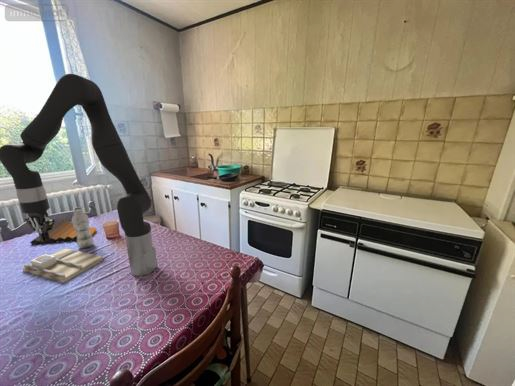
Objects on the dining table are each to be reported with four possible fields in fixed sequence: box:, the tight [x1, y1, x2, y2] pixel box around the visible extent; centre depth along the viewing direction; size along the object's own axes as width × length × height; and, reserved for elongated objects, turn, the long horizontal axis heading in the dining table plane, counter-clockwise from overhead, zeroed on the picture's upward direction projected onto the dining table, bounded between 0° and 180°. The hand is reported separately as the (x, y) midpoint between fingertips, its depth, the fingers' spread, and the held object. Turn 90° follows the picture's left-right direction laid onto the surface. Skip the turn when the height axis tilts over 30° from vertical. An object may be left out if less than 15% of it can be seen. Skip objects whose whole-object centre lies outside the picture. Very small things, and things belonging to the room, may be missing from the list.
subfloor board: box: [21, 248, 104, 284], centre depth 94 cm, size 23×16×3 cm
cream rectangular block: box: [30, 253, 57, 269], centre depth 91 cm, size 6×5×3 cm
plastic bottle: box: [71, 207, 95, 249], centre depth 106 cm, size 6×7×20 cm
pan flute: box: [29, 219, 97, 245], centre depth 123 cm, size 25×3×25 cm
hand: (45, 240), depth 86 cm, fingers closed
